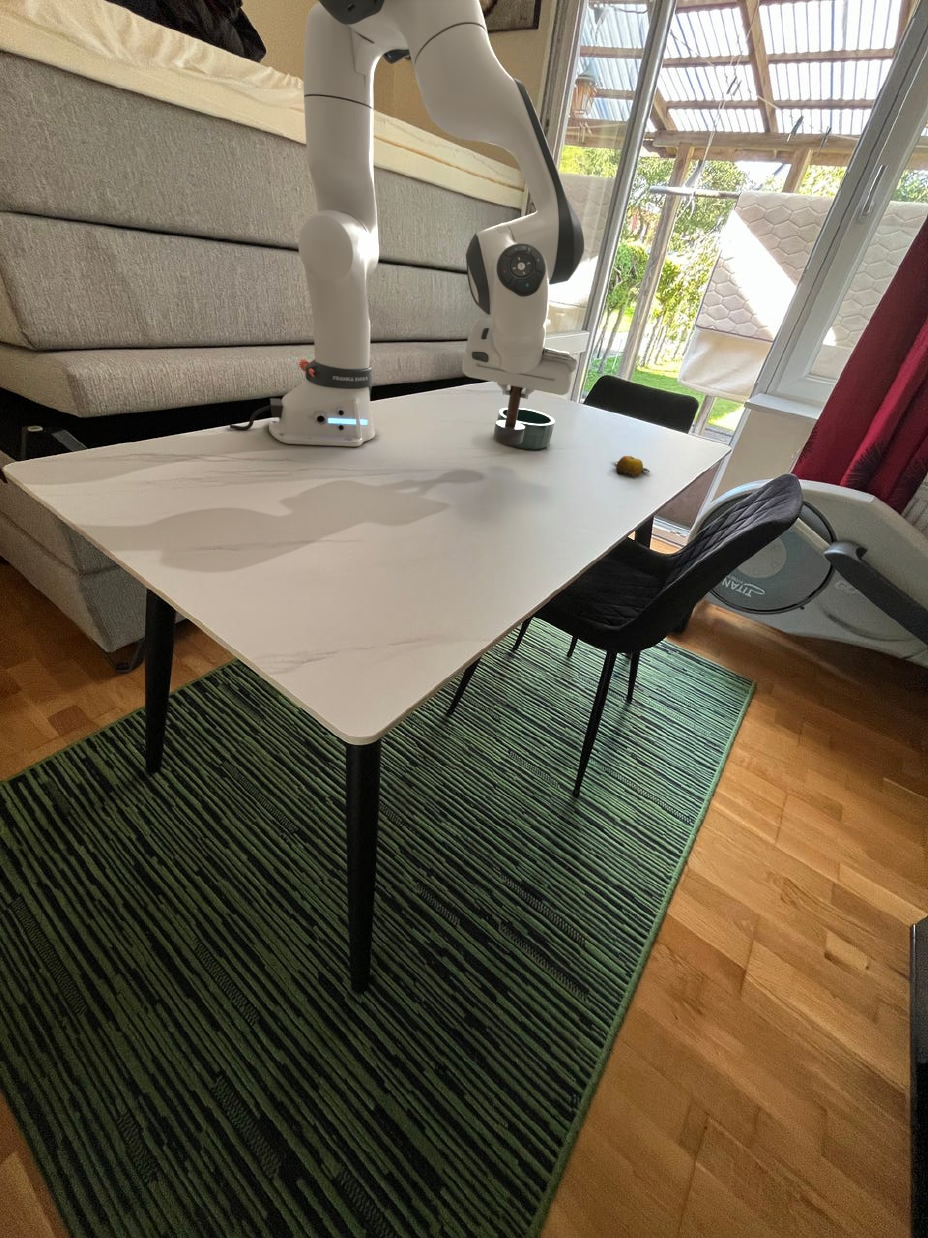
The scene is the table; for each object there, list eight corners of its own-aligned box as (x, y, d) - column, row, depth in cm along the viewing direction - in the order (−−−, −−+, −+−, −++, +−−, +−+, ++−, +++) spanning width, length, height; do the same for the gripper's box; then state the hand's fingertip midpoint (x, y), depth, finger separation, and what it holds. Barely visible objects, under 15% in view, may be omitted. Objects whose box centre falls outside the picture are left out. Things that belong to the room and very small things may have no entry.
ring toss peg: (502, 444, 103) (518, 356, 93) (488, 434, 107) (501, 349, 97) (527, 444, 105) (545, 358, 96) (512, 434, 109) (527, 351, 100)
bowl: (512, 451, 121) (518, 425, 117) (485, 432, 130) (489, 407, 127) (559, 449, 127) (565, 424, 123) (529, 431, 136) (534, 407, 133)
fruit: (649, 472, 122) (655, 457, 120) (642, 481, 116) (647, 465, 114) (616, 462, 125) (621, 447, 123) (607, 471, 119) (612, 455, 117)
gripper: (582, 339, 87) (571, 389, 101) (466, 317, 89) (471, 369, 103) (574, 372, 86) (564, 418, 100) (456, 349, 89) (462, 397, 102)
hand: (516, 393), depth 101 cm, fingers closed on ring toss peg, 2 cm apart
